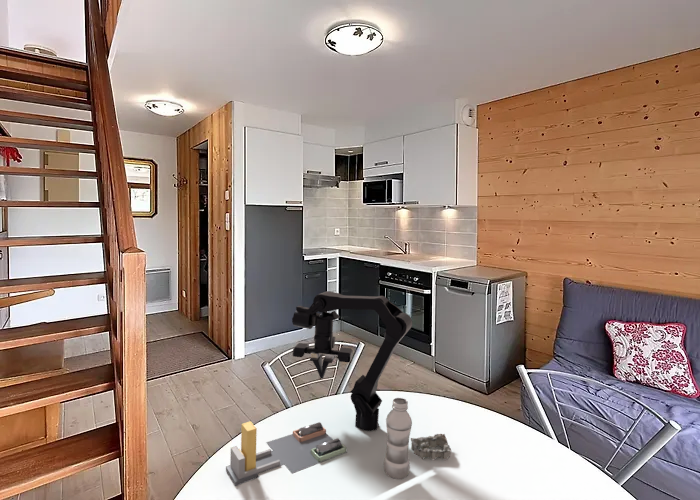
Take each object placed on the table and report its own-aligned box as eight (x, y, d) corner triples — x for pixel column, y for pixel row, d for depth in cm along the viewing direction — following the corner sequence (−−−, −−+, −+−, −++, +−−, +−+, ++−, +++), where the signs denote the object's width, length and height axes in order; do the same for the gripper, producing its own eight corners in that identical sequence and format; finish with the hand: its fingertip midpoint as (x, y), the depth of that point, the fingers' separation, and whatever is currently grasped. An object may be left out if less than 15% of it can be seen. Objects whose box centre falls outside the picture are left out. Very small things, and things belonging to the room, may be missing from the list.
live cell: (336, 447, 114) (335, 437, 114) (341, 450, 111) (341, 439, 112) (314, 455, 110) (314, 444, 110) (320, 458, 107) (319, 447, 108)
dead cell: (317, 427, 122) (318, 420, 121) (321, 434, 120) (323, 426, 119) (296, 434, 118) (298, 426, 117) (301, 441, 116) (302, 433, 115)
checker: (317, 428, 124) (318, 410, 123) (347, 455, 111) (347, 435, 111) (220, 460, 107) (220, 439, 106) (241, 496, 94) (242, 472, 93)
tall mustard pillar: (249, 460, 105) (250, 421, 104) (255, 469, 102) (256, 428, 101) (240, 463, 104) (241, 423, 103) (246, 472, 100) (247, 431, 99)
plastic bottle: (408, 485, 100) (413, 409, 98) (381, 480, 101) (385, 405, 99) (410, 469, 106) (414, 397, 104) (384, 465, 108) (388, 393, 106)
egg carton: (445, 446, 118) (446, 433, 118) (452, 462, 111) (453, 448, 110) (409, 445, 118) (410, 431, 118) (413, 460, 111) (414, 446, 110)
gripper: (356, 326, 135) (354, 371, 137) (302, 321, 138) (301, 365, 140) (350, 336, 124) (348, 385, 126) (292, 331, 127) (291, 378, 129)
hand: (321, 377), depth 130 cm, fingers closed
